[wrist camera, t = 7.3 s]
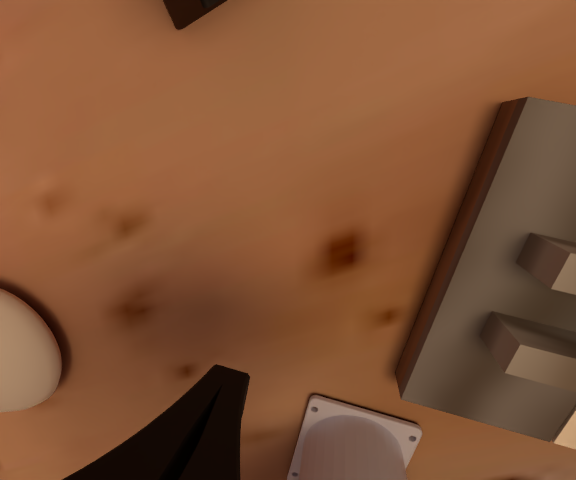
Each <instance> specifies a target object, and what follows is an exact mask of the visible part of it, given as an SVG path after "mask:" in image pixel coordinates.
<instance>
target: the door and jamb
mask: <svg viewBox="0 0 576 480" xmlns="http://www.w3.org/2000/svg"><path fill="white" fill-rule="evenodd" d="M395 374H396V378H397V383H398V388H399V392H400V397H401V400H405V401H408V402H412V403H415V404H419V405H422V406H426V407H429V408H433V409H436V410H440V411H443V412H447V413H450V414H454V415H457V416H461V417H464V418H468V419H471V420H475V421H478V422H482V423H485V424H489V425H492V426H496V427H499V428H503V429H506V430H510V431H513V432H517V433H520V434H524V435H527V436H531V437H534V438H538V439H541V440H545V441H548V442H550V441H551V440H552V441H553V443H555V444H559V445H562V446H566V447H569V448H573V449H576V106H575V105H570V104H564V103H559V102H554V101H548V100H543V99H538V98H532V97H525V98H520V99H516V100H511V101H506V102H503V103H502V105H501V108H500V110H499V113H498V115H497V118H496V120H495V123H494V125H493V128H492V130H491V133H490V135H489V138H488V140H487V143H486V145H485V148H484V150H483V153H482V155H481V158H480V161H479V163H478V166H477V168H476V171H475V173H474V176H473V178H472V181H471V183H470V186H469V188H468V191H467V193H466V196H465V198H464V201H463V203H462V206H461V208H460V211H459V213H458V216H457V218H456V221H455V223H454V226H453V228H452V231H451V233H450V236H449V239H448V241H447V244H446V246H445V249H444V251H443V254H442V256H441V259H440V261H439V264H438V266H437V269H436V271H435V274H434V276H433V279H432V281H431V284H430V286H429V289H428V291H427V294H426V296H425V299H424V301H423V304H422V306H421V309H420V311H419V314H418V317H417V319H416V322H415V324H414V327H413V329H412V332H411V334H410V337H409V339H408V342H407V344H406V347H405V349H404V352H403V354H402V357H401V359H400V362H399V364H398V367H397V369H396V372H395Z"/></svg>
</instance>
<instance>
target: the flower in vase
mask: <svg viewBox="0 0 576 480" xmlns="http://www.w3.org/2000/svg"><path fill="white" fill-rule="evenodd" d="M61 371H62V358H61V353H60V350H59V347H58V344H57V342H56V339H55V337H54V335H53V334H52V332H51V330H50V329H49V327H48V326H47V324H46V323H45V322H44V320H43V319H42V318H41V317H40V316H39V315H38V314H37V313H36V312H35V311H34V310H33V309H32V308H31V307H30V306H29V305H28V304H26V303H25V302H24V301H23V300H21V299H20V298H18V297H17V296H15V295H13V294H11V293H9V292H8V291H5V290H3V289H0V412H8V411H19V410H25V409H28V408H31V407H33V406H35V405H37V404H40V403H42V402H44V401H45V400H47V399H48V398H49V397H50V396H51V395H52V394H53V393H54V392H55V390H56V388H57V386H58V382H59V379H60V376H61Z"/></svg>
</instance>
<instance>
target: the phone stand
mask: <svg viewBox="0 0 576 480" xmlns="http://www.w3.org/2000/svg"><path fill="white" fill-rule="evenodd" d="M225 1H227V0H163V2H164V4H165V6H166V8H167V10H168V12H169V15H170V17H171V19H172V21H173V23H174V26H175V28H176V29H182V28H185V27H186V26H188V25H189V24H191V23H193V22H194V21H196V20H197V19H199V18H200V17H202V16H203V15H205V14H207V13H208V12H210V11H211V10H213V9H214V8H216V7H218V6H219V5H221V4H222V3H224V2H225Z"/></svg>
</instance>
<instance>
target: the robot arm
mask: <svg viewBox="0 0 576 480" xmlns="http://www.w3.org/2000/svg"><path fill="white" fill-rule="evenodd" d="M249 380H250V376H249V375H248V373H244V372H241V371H237V370H234V369H230V368H227V367H224V366H220V365H217V364H216V365H214V366H213V367H212V368H211V369H210V370H209V371H208V372H207V373H206V374H205V375H204V376H203V377H202V378H201V379H200V380H199V381H198V382H197V383H196V384H195V385H194V386H193V387H192V388H191V389H190V390H189V391H188V392H187V393H185V394H184V395H183V396H182V397H181V398H180V399H179V400H178V401H176V402H175V403H174V404H173V405H172V406H171V407H169V408H168V409H167V410H166V411H165V412H163V413H162V414H161V415H160V416H158V417H157V418H156V419H155V420H153V421H152V422H151V423H150V424H148V425H147V426H146V427H144V428H143V429H142V430H140V431H139V432H137V433H136V434H135V435H133V436H132V437H130V438H129V439H128V440H126V441H125V442H123V443H122V444H120V445H119V446H117V447H116V448H114V449H113V450H111V451H110V452H108V453H106V454H105V455H103V456H102V457H100V458H99V459H97V460H95V461H94V462H92V463H90V464H89V465H87V466H85V467H84V468H82V469H80V470H79V471H77V472H75V473H73V474H71V475H69V476H68V477H66V478H64V479H62V480H240V430H241V418H242V415H243V410H244V405H245V400H246V395H247V390H248V385H249ZM313 407H316V408H313ZM411 436H412V437H411ZM421 436H422V430H421V427H420V426H419V425H417V424H414V423H411V422H407V421H404V420H400V419H397V418H394V417H390V416H387V415H383V414H380V413H376V412H373V411H370V410H366V409H363V408H359V407H356V406H352V405H349V404H346V403H342V402H339V401H335V400H332V399H328V398H325V397H322V396H318V395H313V396H311V397H310V399H309V403H308V406H307V410H306V413H305V417H304V420H303V424H302V427H301V431H300V434H299V437H298V441H297V444H296V448H295V451H294V455H293V458H292V462H291V465H290V469H289V472H288V476H287V480H407V475H406V468H407V466H408V463H409V461H410V459H411V457H412V455H413V453H414V451H415V449H416V447H417V445H418V442H419V440H420V438H421Z"/></svg>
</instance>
